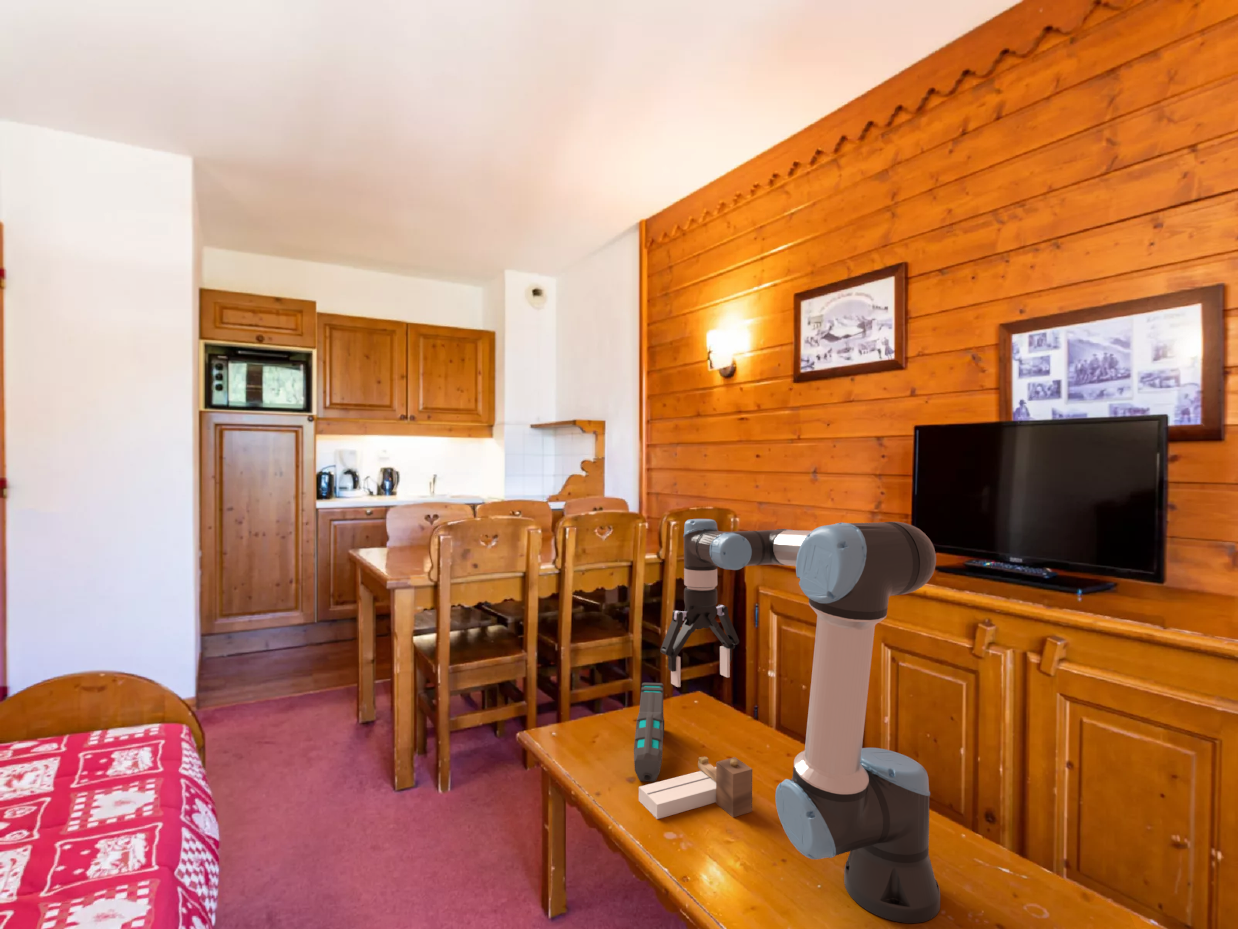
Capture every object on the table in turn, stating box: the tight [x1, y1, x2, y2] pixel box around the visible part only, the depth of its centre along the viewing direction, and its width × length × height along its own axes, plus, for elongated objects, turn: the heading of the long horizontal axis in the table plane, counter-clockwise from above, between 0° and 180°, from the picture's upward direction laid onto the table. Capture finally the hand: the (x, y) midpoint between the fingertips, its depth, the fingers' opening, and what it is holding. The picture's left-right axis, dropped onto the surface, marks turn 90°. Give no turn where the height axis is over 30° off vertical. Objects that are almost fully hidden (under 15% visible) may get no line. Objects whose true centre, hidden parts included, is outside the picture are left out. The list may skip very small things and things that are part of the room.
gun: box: [633, 682, 665, 783], centre depth 159 cm, size 7×29×15 cm, turn 174°
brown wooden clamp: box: [697, 756, 753, 818], centre depth 139 cm, size 15×5×10 cm, turn 27°
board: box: [638, 766, 716, 820], centre depth 139 cm, size 8×22×3 cm, turn 117°
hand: (700, 680), depth 143 cm, fingers open, 13 cm apart
